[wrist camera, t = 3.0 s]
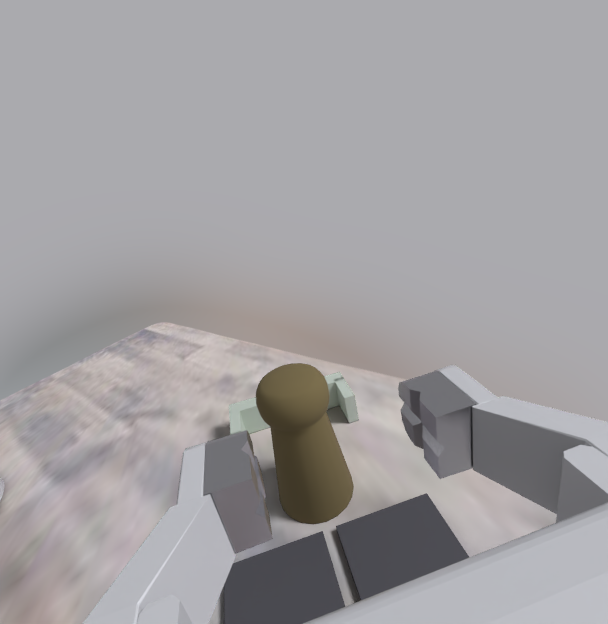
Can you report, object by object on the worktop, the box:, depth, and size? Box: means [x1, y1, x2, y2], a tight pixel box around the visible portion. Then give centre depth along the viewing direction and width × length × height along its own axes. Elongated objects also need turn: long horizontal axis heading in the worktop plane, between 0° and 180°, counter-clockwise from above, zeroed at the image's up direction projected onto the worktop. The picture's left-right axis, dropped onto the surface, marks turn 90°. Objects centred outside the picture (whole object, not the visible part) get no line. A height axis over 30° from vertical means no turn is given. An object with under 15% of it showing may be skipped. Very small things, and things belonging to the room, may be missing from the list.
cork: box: [256, 363, 354, 524], centre depth 27 cm, size 6×6×11 cm
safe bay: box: [229, 372, 359, 435], centre depth 36 cm, size 12×4×3 cm, turn 103°
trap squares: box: [224, 493, 469, 624], centre depth 22 cm, size 15×7×1 cm, turn 103°
